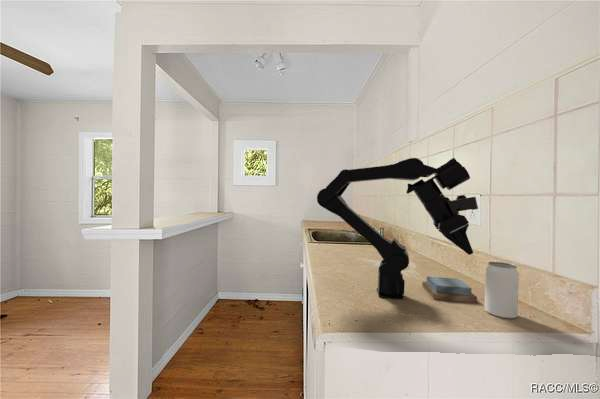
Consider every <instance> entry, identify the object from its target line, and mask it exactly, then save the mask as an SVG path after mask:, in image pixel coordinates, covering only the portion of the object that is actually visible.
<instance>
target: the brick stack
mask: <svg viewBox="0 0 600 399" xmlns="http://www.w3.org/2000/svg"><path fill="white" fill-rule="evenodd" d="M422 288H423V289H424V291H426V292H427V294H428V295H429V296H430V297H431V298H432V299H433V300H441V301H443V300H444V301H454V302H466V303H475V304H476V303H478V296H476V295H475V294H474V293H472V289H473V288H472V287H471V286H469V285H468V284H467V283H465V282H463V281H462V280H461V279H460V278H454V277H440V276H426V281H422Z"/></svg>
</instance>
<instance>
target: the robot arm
mask: <svg viewBox="0 0 600 399" xmlns="http://www.w3.org/2000/svg"><path fill="white" fill-rule="evenodd" d="M433 175H434V176H433ZM430 176H432V177H431V178H429V177H430ZM422 178H429V179H427V180H423V179H422ZM418 179H419V180H418ZM470 179H471V176H470V173H469V172H468V170H467V169H466V167H465V166H463V165H462V164H461V163H460V162H459V161H458V160H457V159H456V158H455V157H452V158H451V159H449V160H448V161H447V162H445V163H444V164H442V165H440V166H439V167H437V168H436V167H433V166H430V165H427V164H424V162H423V161H422V160H420V158H417V157H411V158H410V157H409V158H407V159H402V160H400V161H397V162H394V163H392V164H388V165H380V166H379V165H378V166H372V167H371V166H370V167H363V168H361V167H360V168H352V169H346V168H345V169H342V170H341V171H340V172H339V173H338V175H336V177H335V178H334V179H332V180H331V181H330V183H329V184H327V185H326V187H325V188H321V189H320V190H319V191H318V193H317V196H316V201H317V204H318V205H319V206H320V207H322V208H323V209H325V210H326V211H329V212H330V213H332V214H334V215H335V216H338V217H339V218H341V219H342V220H343V221H344V222H346V224H347V225H348V226H350V227H351V228H352V229H353V230H354V231H356V232H357V233H358V234H359V235H360V236H361V237H362V238H364V239H365V240H366V241H367V243H369V244H370V245H371V246H373V248H375V249H376V252H378V254H379V255H380V257H381V258H382V260H381V261H380V263H379V266H378V271H377V288H376V292H377V295H378V297H379V298H388V299H389V298H390V299H398V300H404V297H405V296H404V295H405V279H404V278H403V273H402V271H404V270H406V269H407V268H408V267H409V264H410V258H409V252H408V250H407V248H406V247H407V246H406V245H403V244H401V243H400V242H399V240H398V239H396V237H393V239H392V240H391V239H388V238H386V237H385V236H384V235H382V234H381V233H380V232H379V231H378V230H376V228H375V227H373V226H372V225H371V224H369V222H367V221H366V219H365V220H364V218H362V217H361V216H360V215H359V214H358V213H357V212H356V211H354V209H352V208H351V207H350V206H349V204H348V203H347V202H346V200H345V199H344V197H343V194H344V193H345V191H346V190H347V188H348V187H349V185H350V184H352V183H360V182H368V181H369V182H370V181H380V180H398V181H399V180H400V181H412V182H413V181H416V180H418V181H416V182H414V183H413V184H412V183H407V189H406V194H410V193H412V192H414V194H415V195H416V197H417V198H418V200H419V201H420V202H421V204H422V206H423V207H424V209H425V211H426V212H427V213H428V215H429V217H431V219H432V222H433V223H432V224H433V226H434V227H435V229H436V230H438V232H439V233H441V234H442V236H444V237H445V238H446V239H447V240H448V241H450V242H451V243H452V244H454V245H455V246H457V247H458V248H459V249H461V250H462V251H463V252H465V254H467V255H469V256H470V255H472V254H474V251H473V247H472V246H471V245H472V244H471V242H470V240H469V238H468V235H467V230H468V228H469V226H470V224H469V223H470V222H469V220H468V219H467V217H466V216H465V215H462V214H460V212H463V211H464V212H465V211H469V210H472V211H474V210H478V209H479V206H478V203H477V198H476V196H471V197H467V196H466V195H465V194H461V195H457V196H456V198H455V199H453V200H450V198H449V197H447V196H445V194H444V193H443V192H442V191H441V190H444V189H446V190H448V191H450V190H452V189H454V188H456V187H458V186H459V185H461V184H463V183H466V181H468V180H470ZM435 181H436V182H435ZM439 186H440V188H441V189H440V188H439Z"/></svg>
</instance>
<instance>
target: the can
mask: <svg viewBox="0 0 600 399" xmlns="http://www.w3.org/2000/svg"><path fill="white" fill-rule="evenodd" d="M517 268H518V266H517V265H515V264H512V263H509V262H506V263H505V262H499V261H488V265H487V267H486V268H485V288H484V310H485V311H486V312H487V314H489V315H491V316H494V317H497V318H500V319H507V320H513V319H515V318H517V317H518V316H519V315H518V311H519V291H520V290H519V287H520V286H519V285H520V284H519V283H520V273H519V271H518V269H517Z"/></svg>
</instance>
